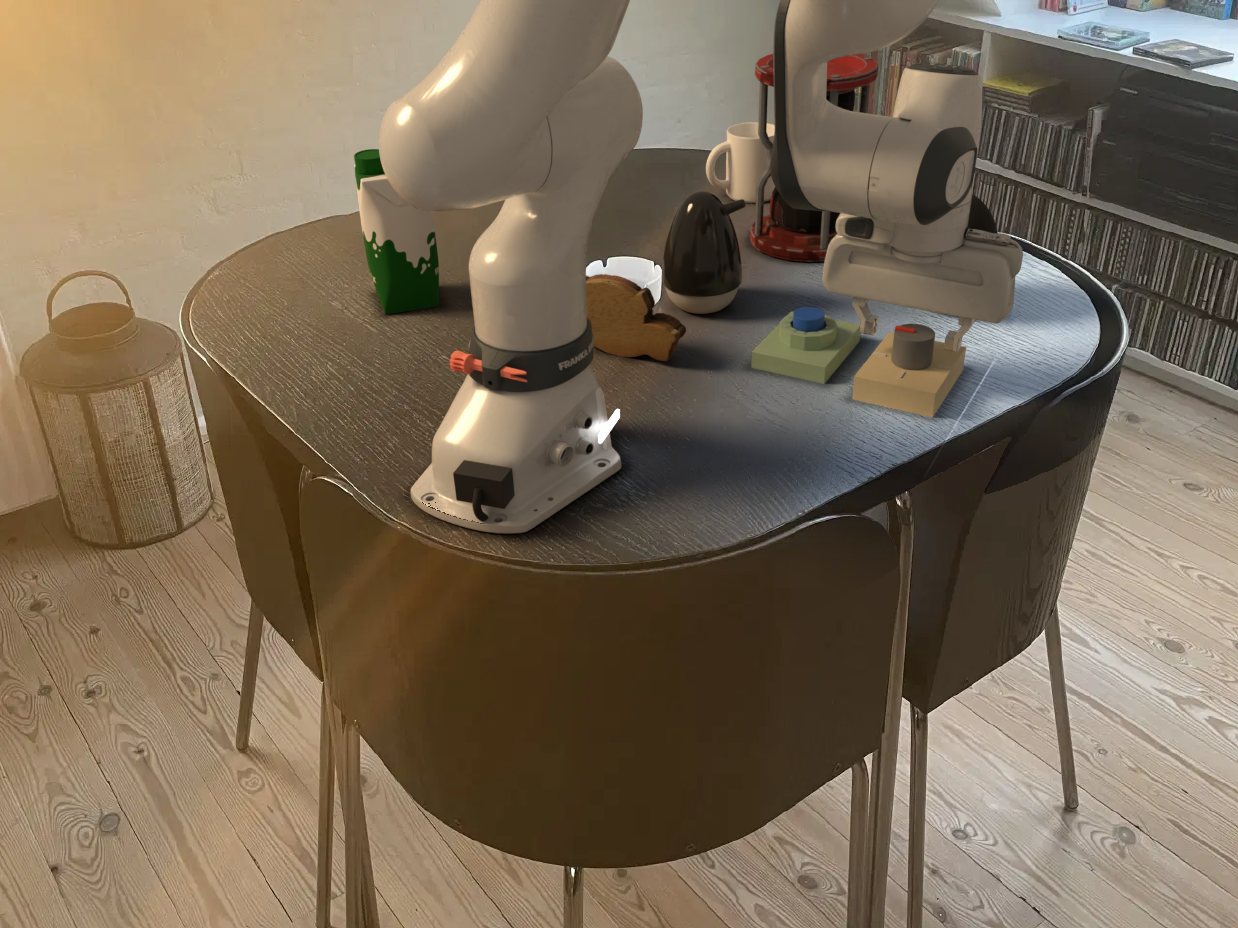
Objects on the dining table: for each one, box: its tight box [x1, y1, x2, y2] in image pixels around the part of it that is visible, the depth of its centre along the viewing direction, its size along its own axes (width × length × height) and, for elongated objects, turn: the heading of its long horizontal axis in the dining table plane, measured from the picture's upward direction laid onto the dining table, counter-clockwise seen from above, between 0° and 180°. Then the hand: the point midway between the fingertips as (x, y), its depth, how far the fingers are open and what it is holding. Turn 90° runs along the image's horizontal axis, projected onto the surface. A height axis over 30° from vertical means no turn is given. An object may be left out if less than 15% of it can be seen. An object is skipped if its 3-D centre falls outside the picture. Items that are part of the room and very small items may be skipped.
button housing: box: [751, 311, 862, 385], centre depth 138 cm, size 12×9×4 cm
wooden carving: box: [586, 273, 687, 362], centre depth 138 cm, size 16×5×10 cm, turn 64°
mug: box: [705, 121, 775, 204], centre depth 182 cm, size 12×8×10 cm
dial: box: [891, 323, 936, 370], centre depth 129 cm, size 4×4×4 cm
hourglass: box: [749, 53, 879, 263], centre depth 162 cm, size 16×16×25 cm
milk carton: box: [353, 148, 440, 315], centre depth 150 cm, size 9×9×20 cm
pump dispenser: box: [661, 190, 747, 315], centre depth 147 cm, size 10×10×15 cm
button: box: [793, 306, 826, 332], centre depth 137 cm, size 4×4×2 cm
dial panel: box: [852, 331, 967, 418], centre depth 131 cm, size 12×9×3 cm
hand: (909, 340), depth 130 cm, fingers open, 8 cm apart
